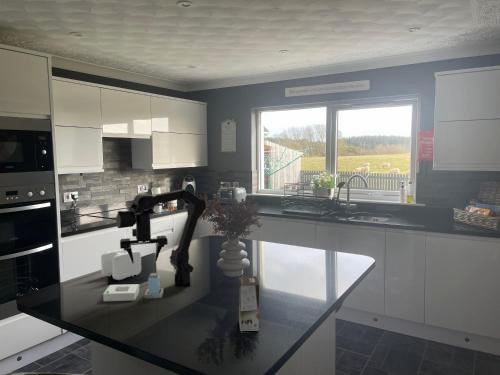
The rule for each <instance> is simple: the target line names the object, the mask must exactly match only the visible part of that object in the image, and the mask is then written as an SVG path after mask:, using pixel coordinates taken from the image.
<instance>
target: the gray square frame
mask: <svg viewBox="0 0 500 375" xmlns="http://www.w3.org/2000/svg"><path fill="white" fill-rule="evenodd" d="M164 293H165V288H161V287H160V294H149V288H147V289H146V290H145V293H144V299H162V298H163V296H164Z"/></svg>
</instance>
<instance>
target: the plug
mask: <svg viewBox="0 0 500 375" xmlns="http://www.w3.org/2000/svg"><path fill="white" fill-rule="evenodd" d="M147 284H148V289H149V294H160V288H161V276H160V274H159V272H151V273H150V274H149V276H148V283H147Z"/></svg>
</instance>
